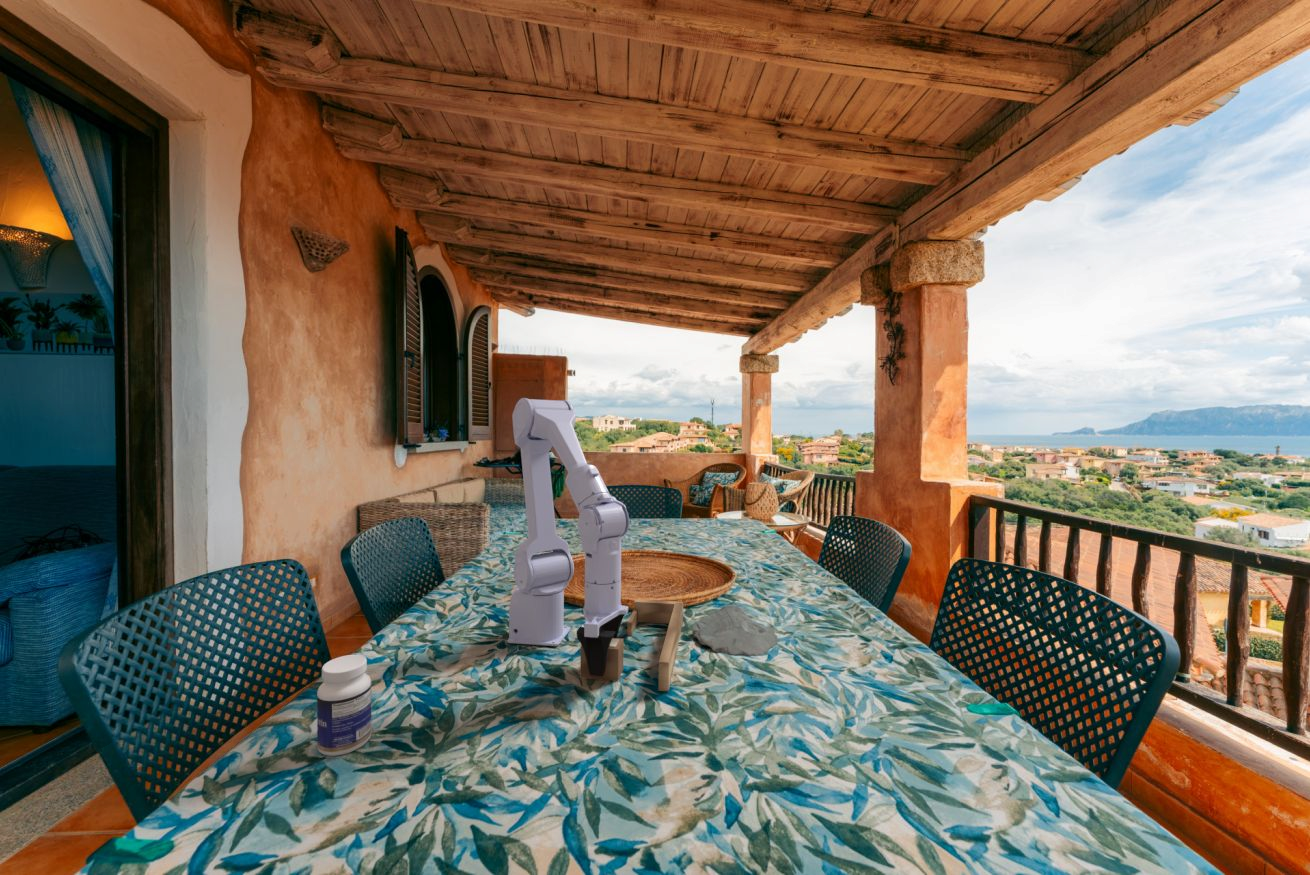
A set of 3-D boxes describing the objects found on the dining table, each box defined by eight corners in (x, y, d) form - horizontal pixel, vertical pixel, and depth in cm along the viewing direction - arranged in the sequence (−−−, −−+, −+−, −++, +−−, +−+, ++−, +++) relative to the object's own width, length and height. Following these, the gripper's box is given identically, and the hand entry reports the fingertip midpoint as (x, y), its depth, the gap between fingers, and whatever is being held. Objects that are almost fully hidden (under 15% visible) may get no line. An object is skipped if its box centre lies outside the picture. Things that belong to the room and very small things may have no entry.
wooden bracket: (603, 686, 76) (604, 658, 76) (635, 618, 104) (635, 597, 104) (668, 691, 75) (668, 662, 75) (683, 621, 102) (683, 600, 102)
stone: (692, 639, 87) (694, 596, 102) (690, 661, 88) (692, 615, 103) (784, 650, 86) (772, 605, 101) (781, 672, 87) (770, 624, 102)
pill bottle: (315, 739, 63) (315, 659, 63) (368, 724, 66) (368, 648, 66) (318, 764, 58) (318, 678, 58) (374, 746, 62) (374, 665, 61)
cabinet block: (580, 678, 79) (580, 645, 79) (587, 666, 83) (587, 635, 83) (618, 681, 78) (618, 648, 78) (623, 669, 82) (623, 637, 82)
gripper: (618, 595, 72) (617, 689, 73) (635, 567, 87) (635, 646, 87) (570, 592, 73) (570, 685, 74) (595, 565, 88) (595, 643, 88)
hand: (602, 664), depth 80 cm, fingers open, 6 cm apart
